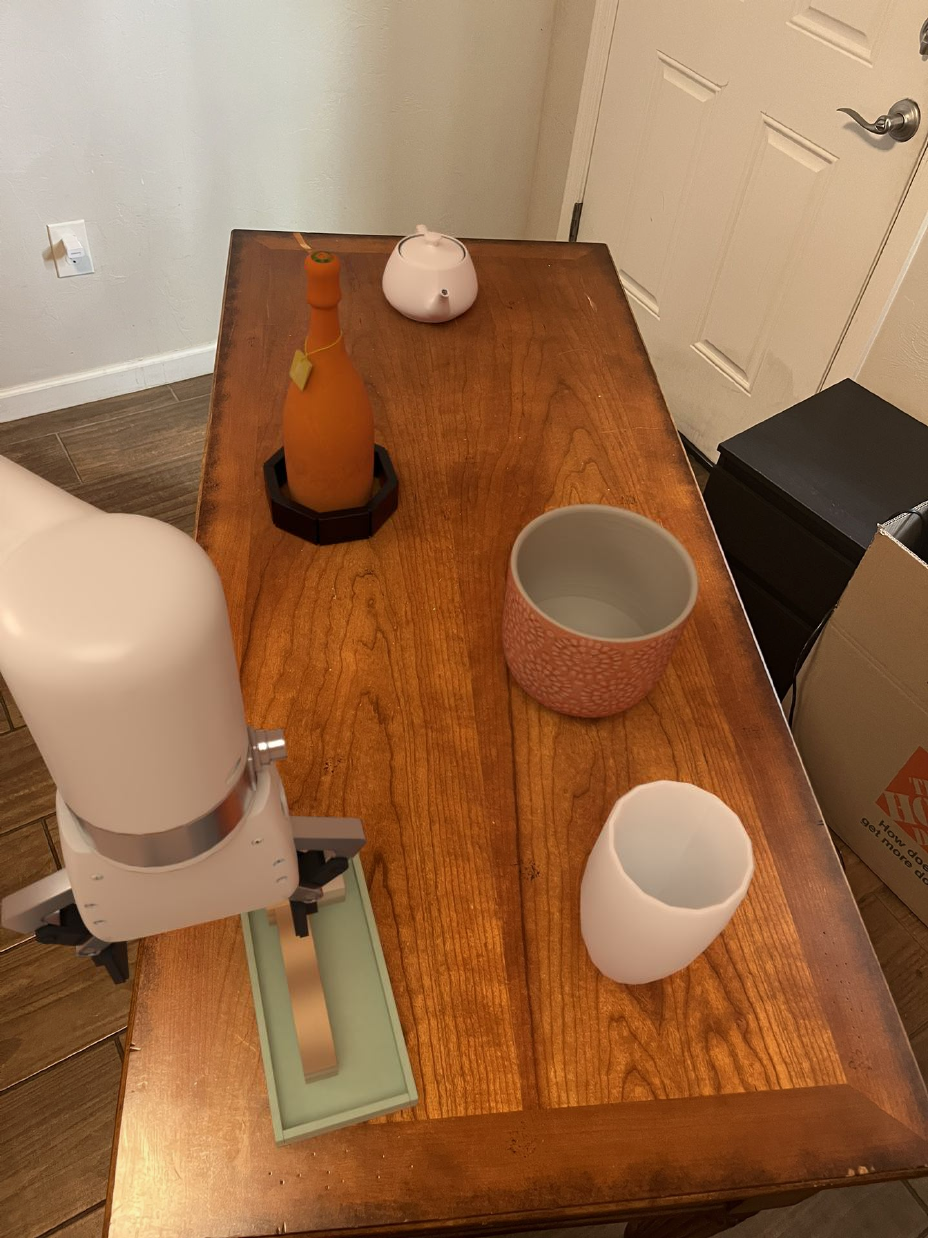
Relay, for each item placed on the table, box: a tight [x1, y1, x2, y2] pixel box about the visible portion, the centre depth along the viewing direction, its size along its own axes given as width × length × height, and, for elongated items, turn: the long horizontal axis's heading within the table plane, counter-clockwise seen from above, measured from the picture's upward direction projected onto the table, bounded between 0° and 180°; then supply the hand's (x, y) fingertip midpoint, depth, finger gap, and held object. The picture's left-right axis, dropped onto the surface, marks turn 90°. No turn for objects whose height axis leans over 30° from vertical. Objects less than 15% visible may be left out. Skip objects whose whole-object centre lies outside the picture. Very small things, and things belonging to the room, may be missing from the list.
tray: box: [239, 852, 419, 1149], centre depth 73 cm, size 10×21×2 cm, turn 17°
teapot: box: [382, 223, 479, 324], centre depth 133 cm, size 22×14×11 cm, turn 11°
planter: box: [501, 503, 700, 719], centre depth 90 cm, size 17×17×15 cm
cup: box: [579, 779, 756, 986], centre depth 68 cm, size 10×10×22 cm
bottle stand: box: [262, 442, 400, 547], centre depth 108 cm, size 14×14×4 cm
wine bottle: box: [281, 250, 375, 513], centre depth 98 cm, size 10×10×30 cm
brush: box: [266, 874, 345, 1084], centre depth 72 cm, size 18×6×4 cm, turn 17°
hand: (211, 934), depth 52 cm, fingers open, 9 cm apart
